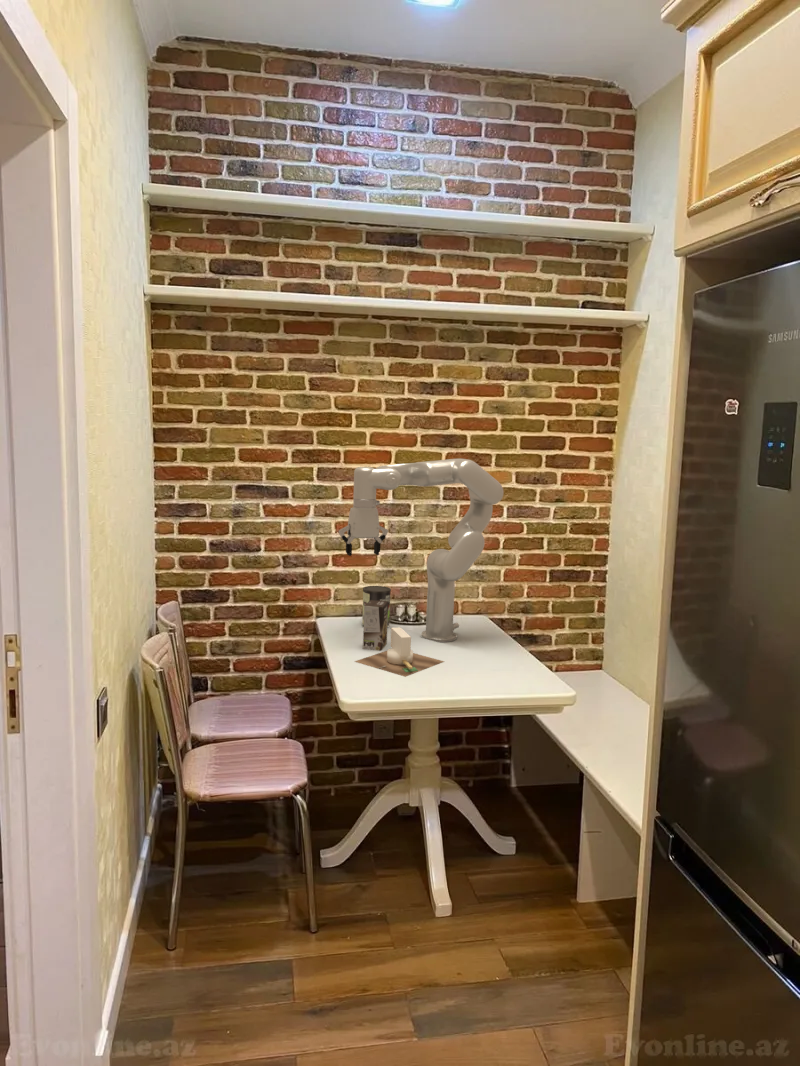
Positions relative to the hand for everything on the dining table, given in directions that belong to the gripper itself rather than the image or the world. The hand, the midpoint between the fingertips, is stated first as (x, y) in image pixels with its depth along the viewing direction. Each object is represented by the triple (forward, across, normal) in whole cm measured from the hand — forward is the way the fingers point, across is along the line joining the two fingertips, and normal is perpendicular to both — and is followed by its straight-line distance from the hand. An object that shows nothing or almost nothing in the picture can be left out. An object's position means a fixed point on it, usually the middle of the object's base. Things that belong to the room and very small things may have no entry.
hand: (362, 554), depth 254 cm
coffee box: (+31, -2, +11) cm, 32 cm away
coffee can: (+31, -12, -19) cm, 38 cm away
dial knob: (+28, -3, +31) cm, 42 cm away
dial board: (+30, -4, +28) cm, 41 cm away
